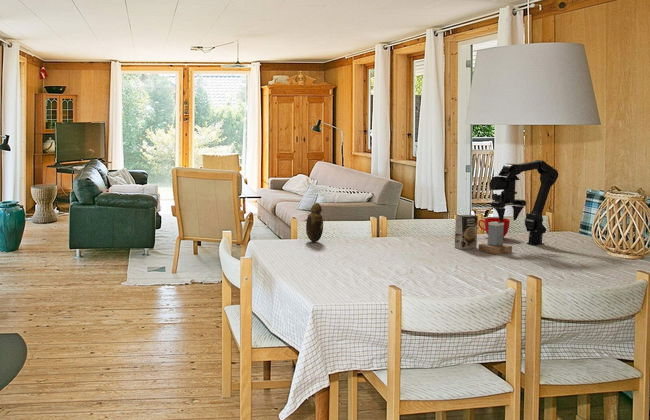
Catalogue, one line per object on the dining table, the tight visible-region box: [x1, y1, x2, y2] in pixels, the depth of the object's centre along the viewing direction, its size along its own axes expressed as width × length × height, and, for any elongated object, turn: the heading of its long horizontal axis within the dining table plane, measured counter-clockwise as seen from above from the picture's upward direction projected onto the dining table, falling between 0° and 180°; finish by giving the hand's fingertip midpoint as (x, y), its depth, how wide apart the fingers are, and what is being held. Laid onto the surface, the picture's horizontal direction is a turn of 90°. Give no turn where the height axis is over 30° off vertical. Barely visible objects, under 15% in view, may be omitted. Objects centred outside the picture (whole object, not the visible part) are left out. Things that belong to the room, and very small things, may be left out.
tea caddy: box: [487, 222, 504, 247], centre depth 358 cm, size 5×5×11 cm
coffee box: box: [454, 214, 479, 250], centre depth 367 cm, size 9×6×16 cm
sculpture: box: [305, 202, 324, 243], centre depth 380 cm, size 13×8×20 cm, turn 5°
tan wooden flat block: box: [478, 243, 513, 255], centre depth 359 cm, size 11×11×3 cm
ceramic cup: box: [477, 217, 511, 238], centre depth 397 cm, size 13×17×10 cm
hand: (508, 220), depth 370 cm, fingers open, 9 cm apart
